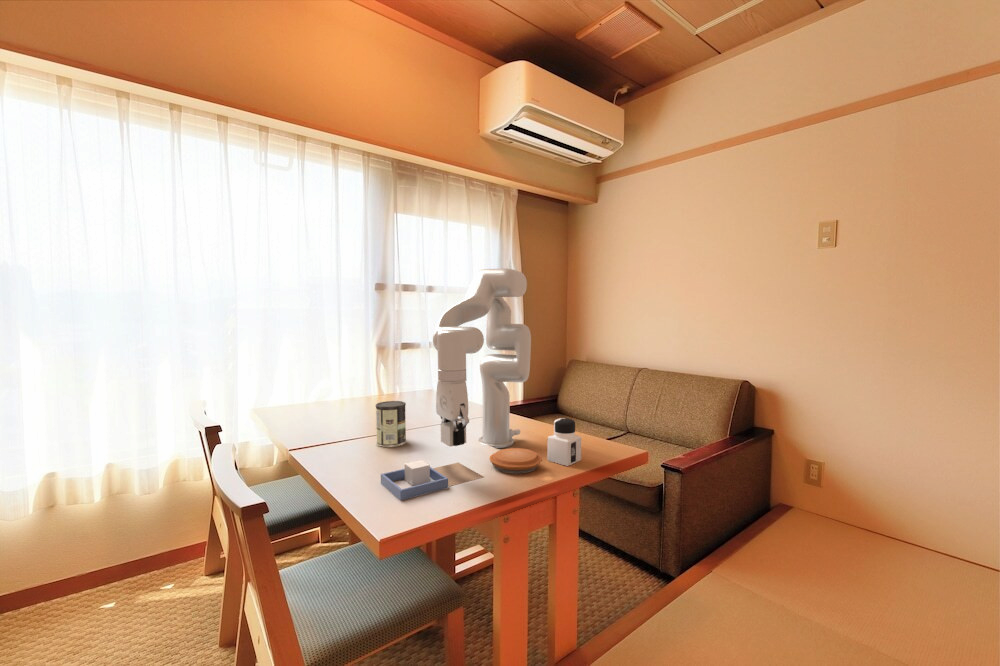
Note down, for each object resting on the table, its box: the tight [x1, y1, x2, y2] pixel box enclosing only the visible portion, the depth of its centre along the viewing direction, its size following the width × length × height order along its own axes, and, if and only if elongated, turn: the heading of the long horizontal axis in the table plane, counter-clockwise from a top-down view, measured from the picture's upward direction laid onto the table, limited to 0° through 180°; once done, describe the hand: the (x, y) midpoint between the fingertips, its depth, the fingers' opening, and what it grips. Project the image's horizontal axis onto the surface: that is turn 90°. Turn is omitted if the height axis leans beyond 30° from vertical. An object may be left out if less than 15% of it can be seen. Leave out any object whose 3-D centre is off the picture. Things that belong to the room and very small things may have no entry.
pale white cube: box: [440, 421, 467, 447], centre depth 115 cm, size 5×5×5 cm
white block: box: [404, 459, 431, 487], centre depth 115 cm, size 5×5×5 cm
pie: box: [489, 447, 543, 474], centre depth 126 cm, size 15×16×5 cm
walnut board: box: [432, 462, 484, 487], centre depth 120 cm, size 11×14×1 cm
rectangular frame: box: [380, 466, 449, 501], centre depth 111 cm, size 13×13×4 cm
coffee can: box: [375, 400, 407, 448], centre depth 151 cm, size 10×10×14 cm
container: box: [546, 417, 582, 467], centre depth 133 cm, size 8×8×13 cm
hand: (453, 441), depth 116 cm, fingers closed on pale white cube, 5 cm apart
